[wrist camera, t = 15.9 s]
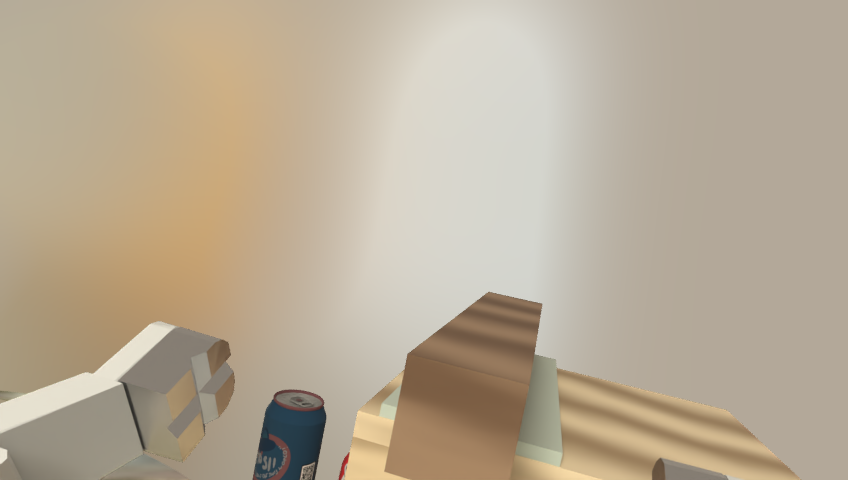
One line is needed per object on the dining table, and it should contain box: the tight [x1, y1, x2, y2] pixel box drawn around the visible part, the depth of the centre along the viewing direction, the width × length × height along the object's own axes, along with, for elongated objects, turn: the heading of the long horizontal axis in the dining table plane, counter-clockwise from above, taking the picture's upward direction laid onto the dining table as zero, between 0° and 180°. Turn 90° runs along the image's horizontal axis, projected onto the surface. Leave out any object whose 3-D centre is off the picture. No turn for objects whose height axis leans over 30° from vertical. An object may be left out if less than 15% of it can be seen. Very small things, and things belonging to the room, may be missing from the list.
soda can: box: [253, 390, 326, 480], centre depth 65 cm, size 7×7×12 cm
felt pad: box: [379, 354, 563, 467], centre depth 33 cm, size 19×8×1 cm, turn 167°
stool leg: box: [384, 292, 542, 480], centre depth 31 cm, size 26×4×4 cm, turn 167°
